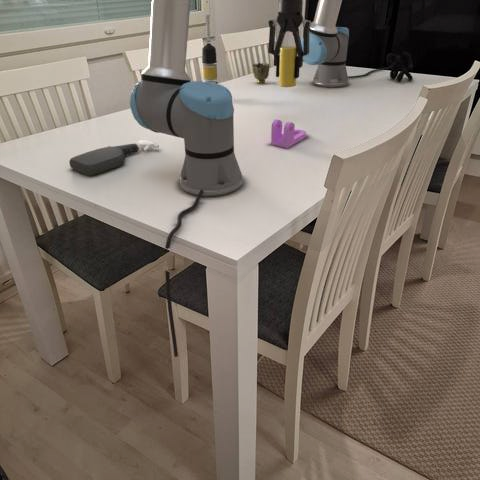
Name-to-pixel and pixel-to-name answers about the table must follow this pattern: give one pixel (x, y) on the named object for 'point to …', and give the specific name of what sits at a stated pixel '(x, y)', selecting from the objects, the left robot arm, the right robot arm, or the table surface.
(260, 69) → the cup
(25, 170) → the table surface
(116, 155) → the spray bottle
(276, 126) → the bracket
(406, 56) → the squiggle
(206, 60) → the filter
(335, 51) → the right robot arm
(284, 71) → the canister
